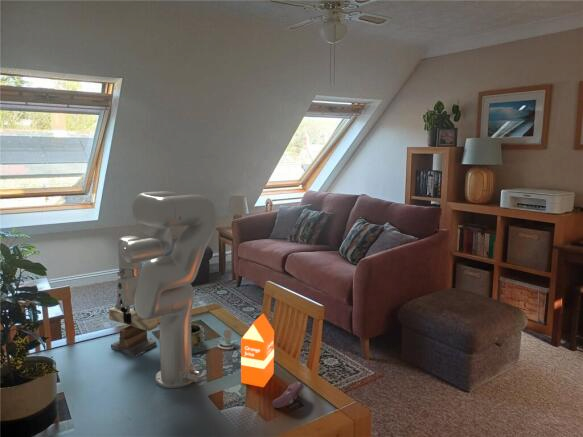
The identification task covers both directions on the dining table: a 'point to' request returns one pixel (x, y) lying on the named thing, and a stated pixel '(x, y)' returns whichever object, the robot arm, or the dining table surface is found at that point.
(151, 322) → the pine batten
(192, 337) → the vessel
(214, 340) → the dining table surface
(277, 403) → the purple oblong lump
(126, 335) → the ridge stand
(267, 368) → the orange juice
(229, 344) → the pacifier
